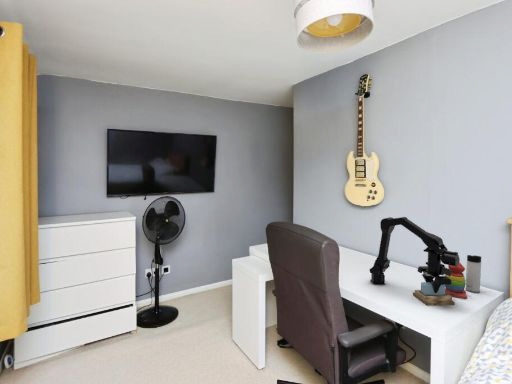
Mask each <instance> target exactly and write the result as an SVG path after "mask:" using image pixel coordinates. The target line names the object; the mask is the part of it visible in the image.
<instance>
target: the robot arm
mask: <svg viewBox="0 0 512 384" xmlns="http://www.w3.org/2000/svg"><path fill="white" fill-rule="evenodd" d="M379 225H380V231H381V236H380V243H379V248H378V249H379V250H378V255H377V257H376V259H375V260H374V263H373V266H372V267H371V268H369V272H370V275H371V276H370V278H371V279H370V280H369V281H370V282H371V283H372V284H373V285H386V283H385V281H386V279H385V277H386V275H385V273H386V270H387V269H388V268H390V267H391V266H390V263H391V260H390V259H389V258H388V253H389V247H390V242H391V237H392V236H391V234H393V232H394V229H395V227H396V226H398V225H399V226H402V227H403V228H405V229H407V230H408V231H409V232H411V233H412V234H414V236H416V237H418V238H419V239H420V240H422V242H423V244H425V246H426V247H425V248H424V249H423V252H425V253H427V261H425V266H424V265H422V266H418V268H417V273H420V274H421V276H422V278H423V279H424V282H432V286H433V290H434V293H437V292H438V290H439V288H440V286H441V285H451V283H452V280H451V279H450V278H448V277H446V276H445V275H448V276H451V274H452V270H450V269H449V268H447V267H446V265H447V266H448V265H451V266H456V267H457V266H458V265H459V262H460V259H461V258H460V256H459V252H458V251H450V250H449V249H448V248H447V246H446V245H445V244H444V241H443V239H442V238H441V237H440V236H438V235H435V234H433V233H430V232H428V231H427V230H425V229H424V228H422V227H421V226H419V225H418V224H415V223H414V222H413V221H411V219H408V217H406V216H401V217H395V218H393V217H385V218H382V219H381V220H380V223H379Z"/></svg>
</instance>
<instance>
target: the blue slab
mask: <svg viewBox="0 0 512 384" xmlns="http://www.w3.org/2000/svg"><path fill="white" fill-rule="evenodd" d="M420 290H421V292H422V293H423V294H425V295H445V285H441V286H440V288H439V290H438V292H437V293H434V290H433V286H432V282H426V281H424V282H423V281H422V282H420Z"/></svg>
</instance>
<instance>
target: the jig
mask: <svg viewBox="0 0 512 384" xmlns="http://www.w3.org/2000/svg"><path fill="white" fill-rule="evenodd" d="M412 295H413V297H414V298H416V299H418V300H419V301H420V302H421V303H423V305H424V306H427V307H429V306H454V305H455V301H454V300H453V296H450V295H449V294H447V293H446V292H445V295H425V294H423V293H422V292H421V289H415V290H414V292H412Z"/></svg>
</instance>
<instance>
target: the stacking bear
mask: <svg viewBox="0 0 512 384" xmlns="http://www.w3.org/2000/svg"><path fill="white" fill-rule="evenodd" d="M447 266H448V269H450V270H452V274H451V276H448V275H445V274H444V276H446V277H448V278H450V279H451V280H452V283H451V285H445V292H446V293H447V294H449V295H450V296H452V298H457V299H463V300H467V299H468V296H467V290H466V276H465V275H464V273H463V272H464V271H466V267H465V266H464V265H463V264H462V263H461V262H460V261H459V265H458V266H457V267H456V266H451V265H447Z"/></svg>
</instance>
